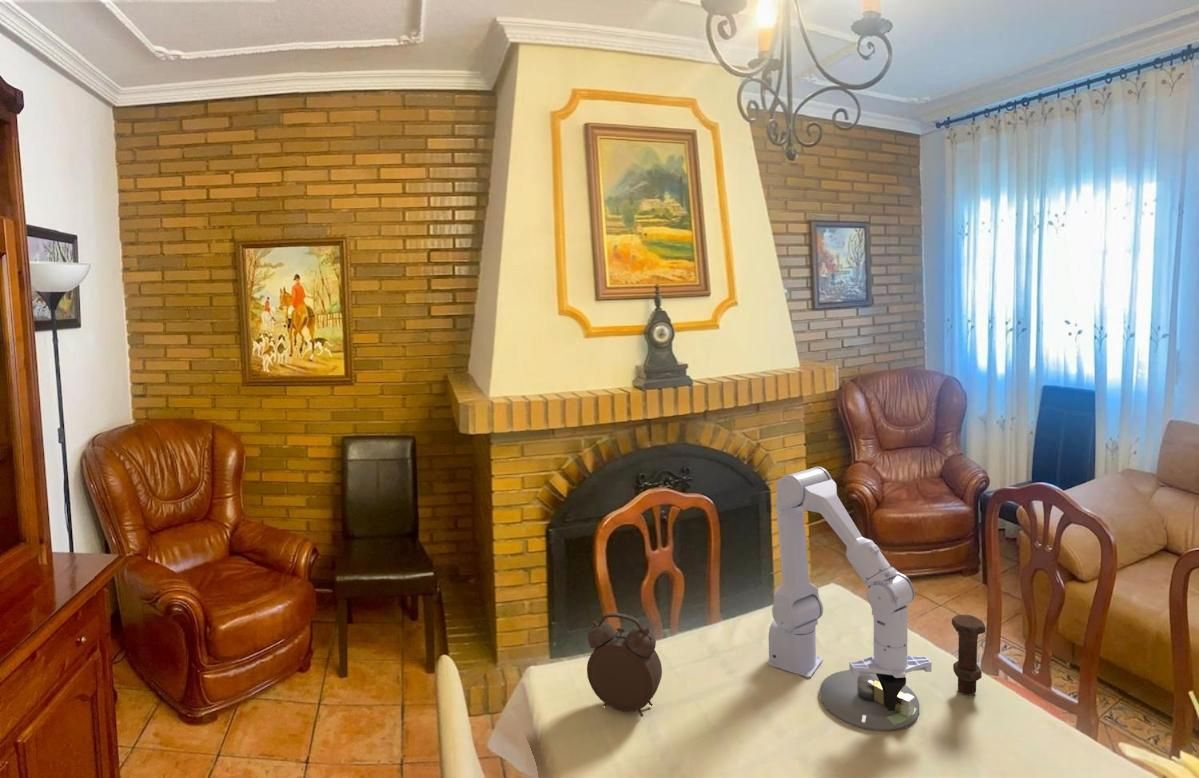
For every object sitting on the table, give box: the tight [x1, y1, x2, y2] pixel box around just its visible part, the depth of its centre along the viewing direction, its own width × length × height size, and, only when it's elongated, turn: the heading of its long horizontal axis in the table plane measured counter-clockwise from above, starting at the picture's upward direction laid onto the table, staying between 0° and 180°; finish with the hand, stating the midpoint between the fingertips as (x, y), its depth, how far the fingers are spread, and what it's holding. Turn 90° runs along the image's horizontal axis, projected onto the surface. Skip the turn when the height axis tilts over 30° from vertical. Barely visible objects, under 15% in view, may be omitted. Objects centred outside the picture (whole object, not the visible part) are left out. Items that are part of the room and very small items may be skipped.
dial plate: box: [819, 669, 920, 733], centre depth 129 cm, size 18×18×1 cm
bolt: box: [951, 614, 986, 695], centre depth 128 cm, size 6×5×15 cm
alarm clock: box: [586, 612, 663, 717], centre depth 130 cm, size 14×7×20 cm, turn 65°
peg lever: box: [857, 675, 914, 717], centre depth 126 cm, size 11×4×3 cm, turn 37°
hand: (890, 707), depth 123 cm, fingers closed, pressing on peg lever
